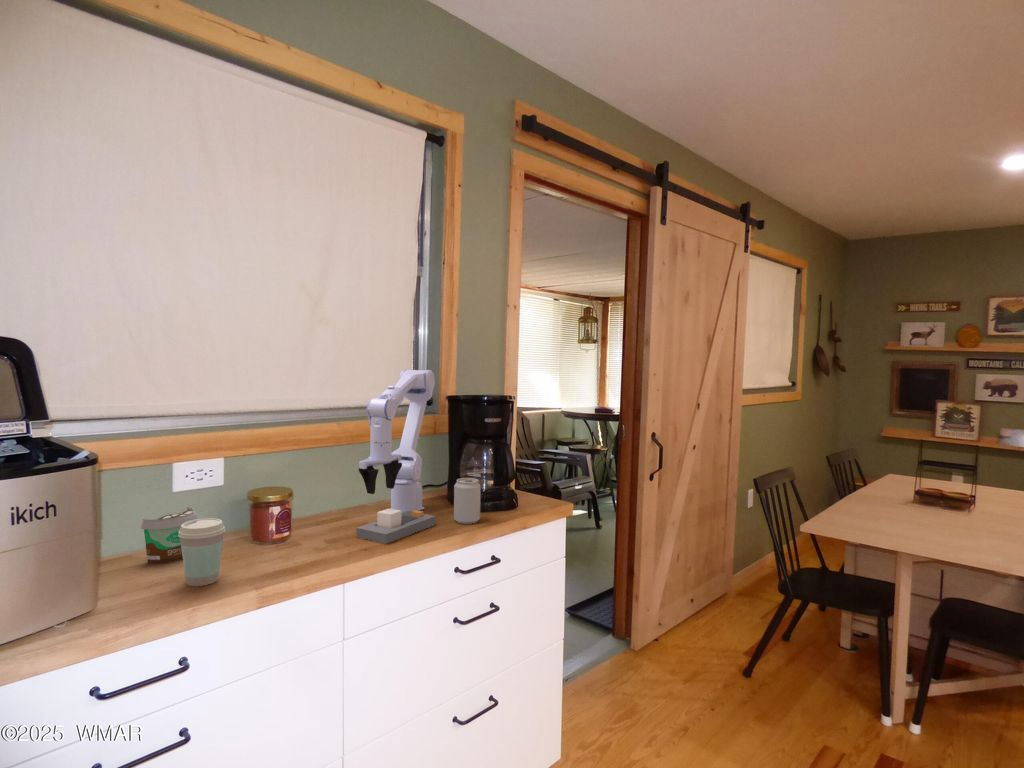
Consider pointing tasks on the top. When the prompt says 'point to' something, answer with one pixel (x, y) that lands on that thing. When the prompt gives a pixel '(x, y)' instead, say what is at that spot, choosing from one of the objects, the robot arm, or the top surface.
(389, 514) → the plug
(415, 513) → the grey slotted holder
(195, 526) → the coffee cup
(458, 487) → the can
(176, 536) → the food container
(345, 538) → the top surface
